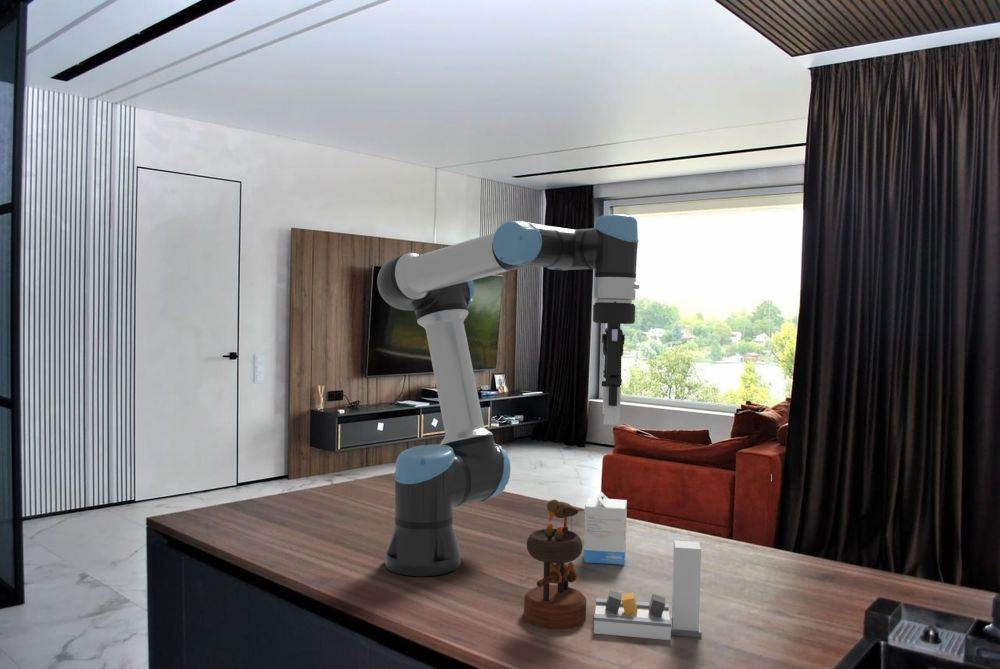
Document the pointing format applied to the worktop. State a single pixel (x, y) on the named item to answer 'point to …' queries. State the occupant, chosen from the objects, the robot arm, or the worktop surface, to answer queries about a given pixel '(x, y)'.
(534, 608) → the music box
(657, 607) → the paddle
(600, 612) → the breaker board
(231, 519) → the worktop surface
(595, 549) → the ink box
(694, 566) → the post
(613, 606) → the paddle
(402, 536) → the robot arm
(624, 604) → the paddle
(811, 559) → the worktop surface
